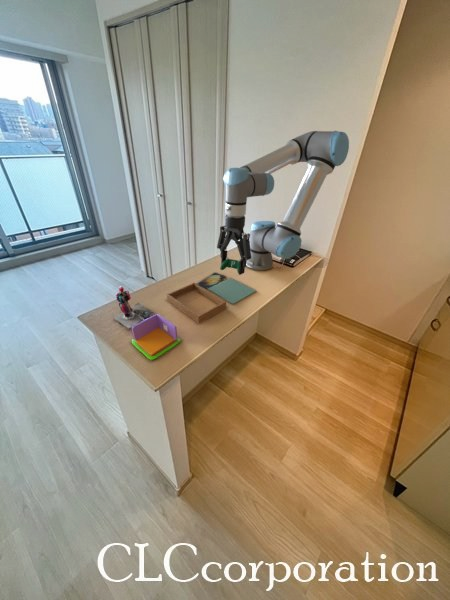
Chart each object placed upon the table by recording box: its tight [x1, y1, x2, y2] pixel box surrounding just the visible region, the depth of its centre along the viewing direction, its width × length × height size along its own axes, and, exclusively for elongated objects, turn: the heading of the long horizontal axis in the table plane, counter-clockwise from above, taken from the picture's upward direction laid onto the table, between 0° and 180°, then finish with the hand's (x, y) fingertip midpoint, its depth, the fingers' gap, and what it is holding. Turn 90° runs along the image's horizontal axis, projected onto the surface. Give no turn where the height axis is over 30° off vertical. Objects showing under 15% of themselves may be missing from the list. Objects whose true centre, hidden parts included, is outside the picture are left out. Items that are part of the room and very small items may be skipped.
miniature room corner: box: [131, 313, 181, 361], centre depth 77 cm, size 12×12×7 cm
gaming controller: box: [219, 256, 241, 274], centre depth 100 cm, size 9×4×6 cm
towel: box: [207, 277, 257, 305], centre depth 107 cm, size 15×16×1 cm
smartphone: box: [196, 272, 227, 291], centre depth 114 cm, size 7×1×15 cm
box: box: [166, 282, 227, 324], centre depth 97 cm, size 14×20×3 cm
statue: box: [113, 285, 155, 331], centre depth 85 cm, size 11×9×15 cm
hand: (232, 269), depth 101 cm, fingers closed on gaming controller, 10 cm apart
